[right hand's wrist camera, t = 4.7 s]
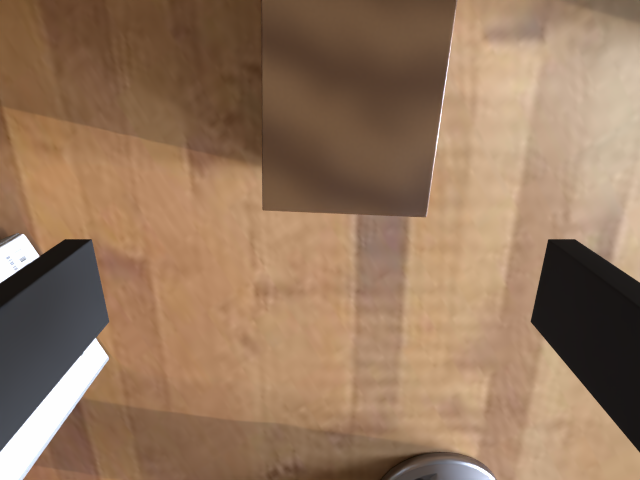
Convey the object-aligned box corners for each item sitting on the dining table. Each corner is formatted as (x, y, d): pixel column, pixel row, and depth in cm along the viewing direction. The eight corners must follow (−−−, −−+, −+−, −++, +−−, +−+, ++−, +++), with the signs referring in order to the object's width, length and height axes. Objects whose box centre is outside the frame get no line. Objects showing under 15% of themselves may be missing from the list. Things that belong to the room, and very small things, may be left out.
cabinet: (281, -69, 31) (260, -145, 20) (421, -62, 31) (476, -133, 20) (279, 170, 38) (262, 210, 27) (395, 175, 38) (426, 217, 27)
